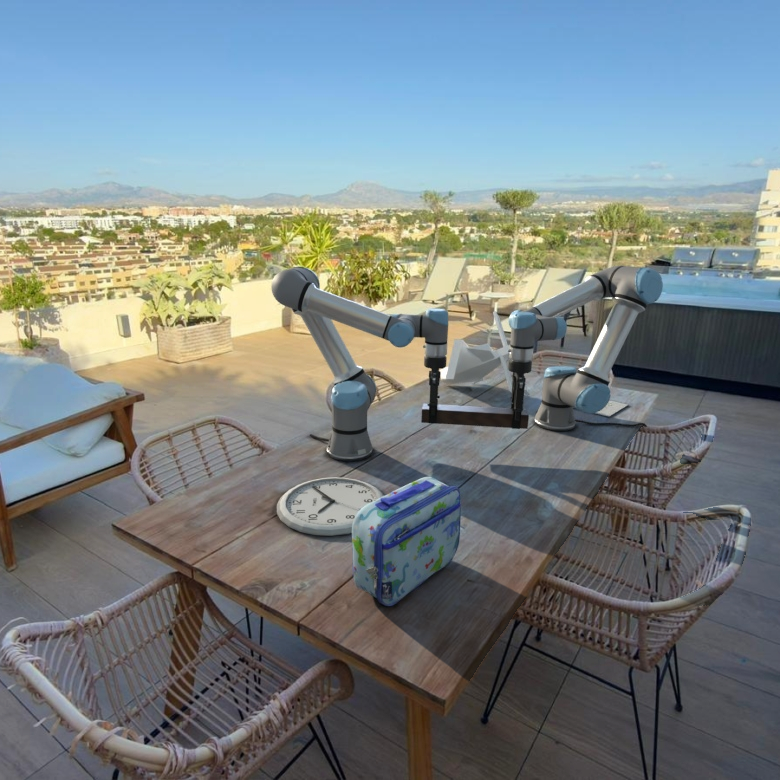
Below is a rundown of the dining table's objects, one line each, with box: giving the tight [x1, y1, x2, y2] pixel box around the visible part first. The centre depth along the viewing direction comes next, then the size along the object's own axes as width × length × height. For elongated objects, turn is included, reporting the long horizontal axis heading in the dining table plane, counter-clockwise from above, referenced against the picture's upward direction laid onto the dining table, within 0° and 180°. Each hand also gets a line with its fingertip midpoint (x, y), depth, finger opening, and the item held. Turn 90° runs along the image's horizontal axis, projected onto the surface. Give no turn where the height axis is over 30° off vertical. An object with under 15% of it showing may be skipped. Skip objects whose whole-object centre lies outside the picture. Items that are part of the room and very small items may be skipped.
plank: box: [420, 403, 530, 430], centre depth 181 cm, size 36×6×5 cm, turn 83°
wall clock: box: [276, 476, 385, 537], centre depth 142 cm, size 30×2×30 cm
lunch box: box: [351, 476, 462, 607], centre depth 111 cm, size 26×11×21 cm, turn 135°
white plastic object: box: [439, 310, 531, 397], centre depth 245 cm, size 37×45×31 cm
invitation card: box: [595, 400, 629, 418], centre depth 226 cm, size 21×1×15 cm
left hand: (432, 419), depth 183 cm, fingers closed on plank, 6 cm apart
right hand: (514, 424), depth 180 cm, fingers closed on plank, 6 cm apart
